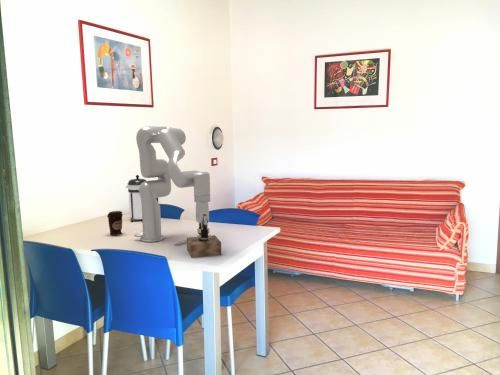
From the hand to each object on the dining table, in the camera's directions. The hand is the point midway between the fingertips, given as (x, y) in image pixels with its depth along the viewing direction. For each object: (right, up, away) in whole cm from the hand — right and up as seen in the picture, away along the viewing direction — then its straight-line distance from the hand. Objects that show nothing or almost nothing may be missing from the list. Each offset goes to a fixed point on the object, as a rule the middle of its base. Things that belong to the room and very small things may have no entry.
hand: (203, 236), depth 192 cm
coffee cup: (-54, -4, +38) cm, 66 cm away
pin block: (0, -8, +1) cm, 8 cm away
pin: (0, -4, 0) cm, 4 cm away
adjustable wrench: (-9, -6, +23) cm, 26 cm away
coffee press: (-50, +1, +78) cm, 93 cm away
